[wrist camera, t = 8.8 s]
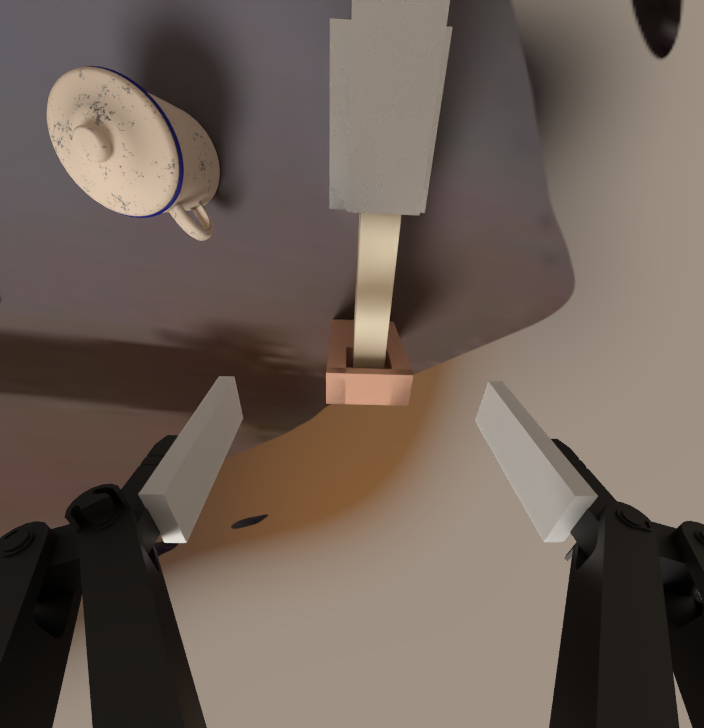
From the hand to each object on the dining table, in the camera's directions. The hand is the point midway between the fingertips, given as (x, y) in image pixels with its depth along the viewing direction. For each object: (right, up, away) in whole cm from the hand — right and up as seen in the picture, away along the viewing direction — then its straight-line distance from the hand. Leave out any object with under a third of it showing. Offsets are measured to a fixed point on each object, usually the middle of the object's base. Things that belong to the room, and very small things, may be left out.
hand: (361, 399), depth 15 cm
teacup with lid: (-17, +21, +14) cm, 31 cm away
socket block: (+1, +6, +23) cm, 24 cm away
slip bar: (+1, +10, +11) cm, 15 cm away
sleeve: (+2, +23, +13) cm, 27 cm away
